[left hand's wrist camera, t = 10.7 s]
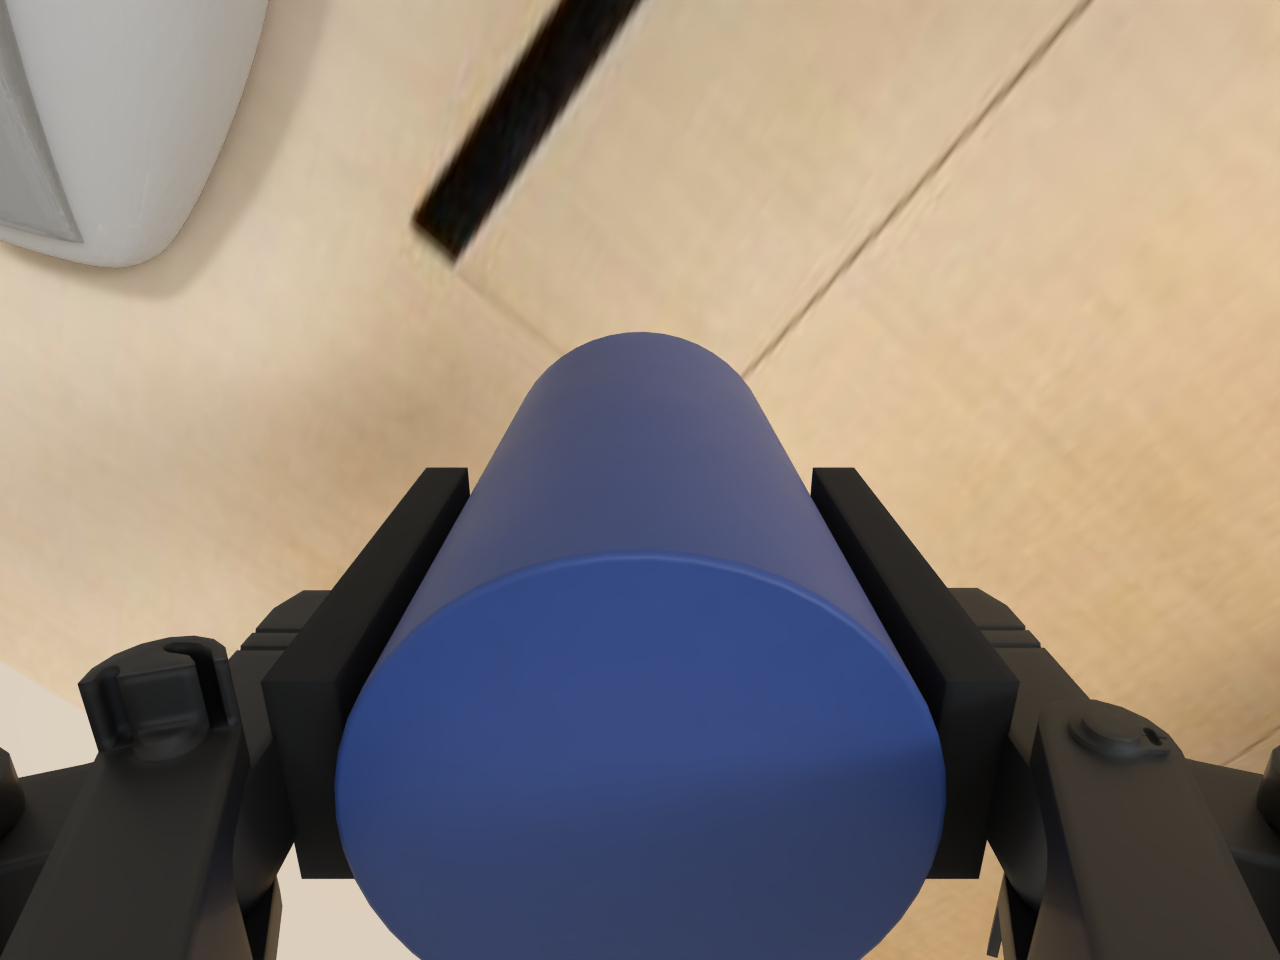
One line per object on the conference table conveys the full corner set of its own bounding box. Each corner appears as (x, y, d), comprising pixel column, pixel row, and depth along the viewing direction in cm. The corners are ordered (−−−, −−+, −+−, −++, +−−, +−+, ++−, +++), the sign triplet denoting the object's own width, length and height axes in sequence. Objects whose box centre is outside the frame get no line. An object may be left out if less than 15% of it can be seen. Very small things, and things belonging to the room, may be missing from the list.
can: (590, 613, 20) (534, 1096, 9) (461, 409, 18) (200, 724, 7) (810, 510, 19) (1032, 921, 8) (698, 281, 17) (797, 433, 6)
